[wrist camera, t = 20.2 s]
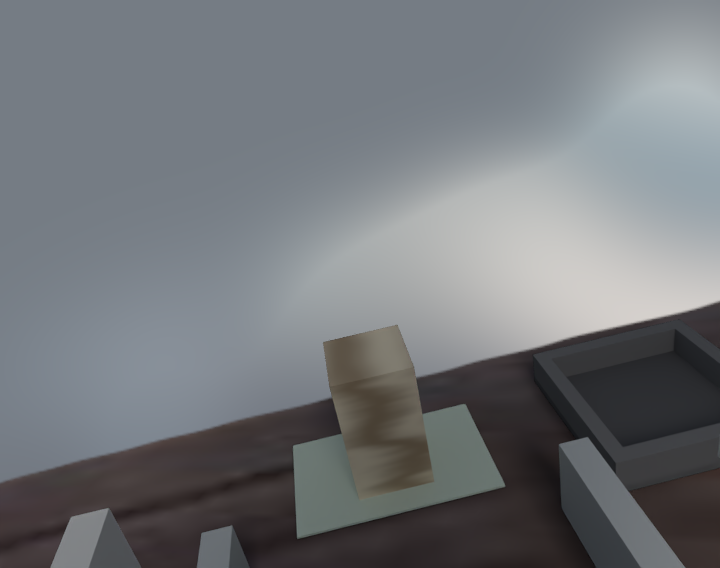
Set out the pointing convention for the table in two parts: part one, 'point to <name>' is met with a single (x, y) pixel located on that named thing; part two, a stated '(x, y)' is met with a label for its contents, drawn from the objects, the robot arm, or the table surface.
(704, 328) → the table surface
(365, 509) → the pad
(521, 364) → the table surface
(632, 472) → the tray
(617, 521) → the walled passage
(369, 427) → the birch block
